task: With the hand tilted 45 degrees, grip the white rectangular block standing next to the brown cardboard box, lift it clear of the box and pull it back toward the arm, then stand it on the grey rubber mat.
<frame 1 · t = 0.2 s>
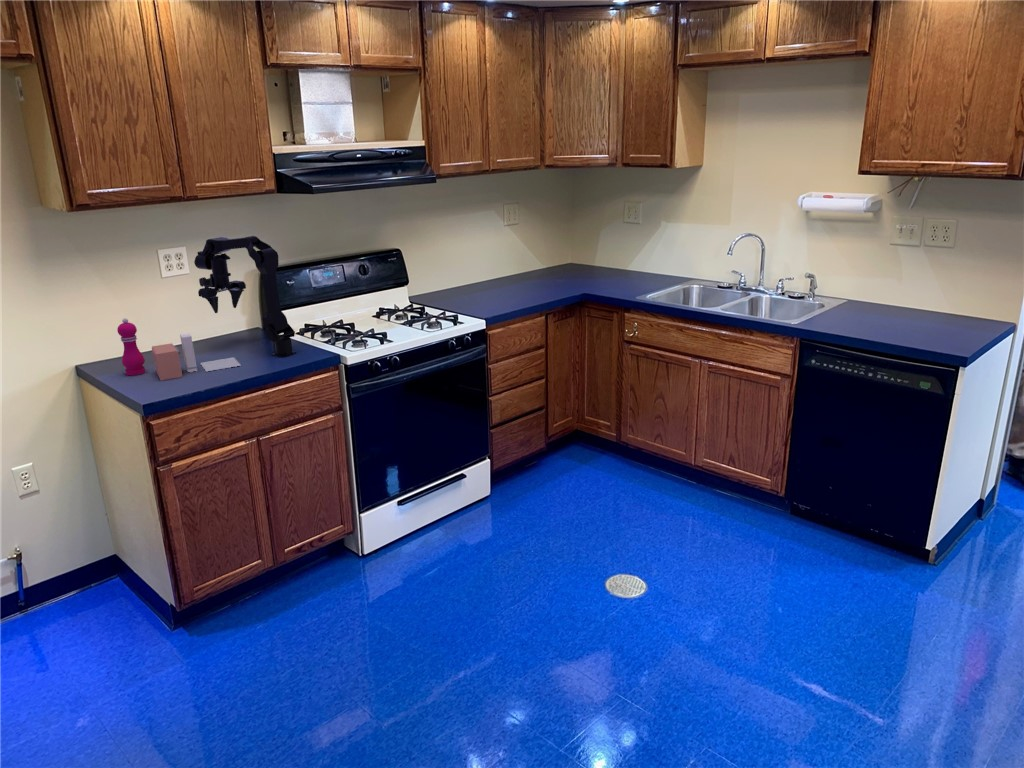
hand: (225, 310, 287), 15 cm above the countertop, tool pointing down, fingers open, 9 cm apart
mat: (220, 365, 268), on the countertop
pepper mill: (135, 373, 261), on the countertop
white rectangular block: (191, 370, 263), on the countertop
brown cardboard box: (169, 374, 259), on the countertop
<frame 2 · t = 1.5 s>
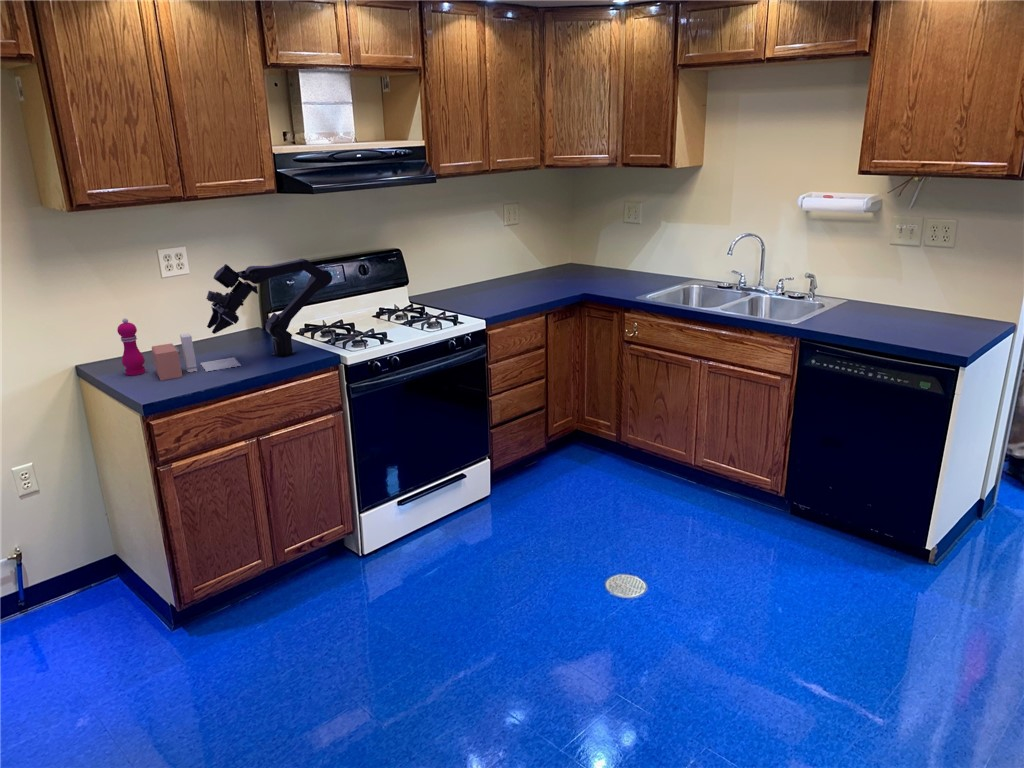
hand: (210, 330, 262), 13 cm above the countertop, tool tilted 45°, fingers open, 9 cm apart
nothing on the countertop moved.
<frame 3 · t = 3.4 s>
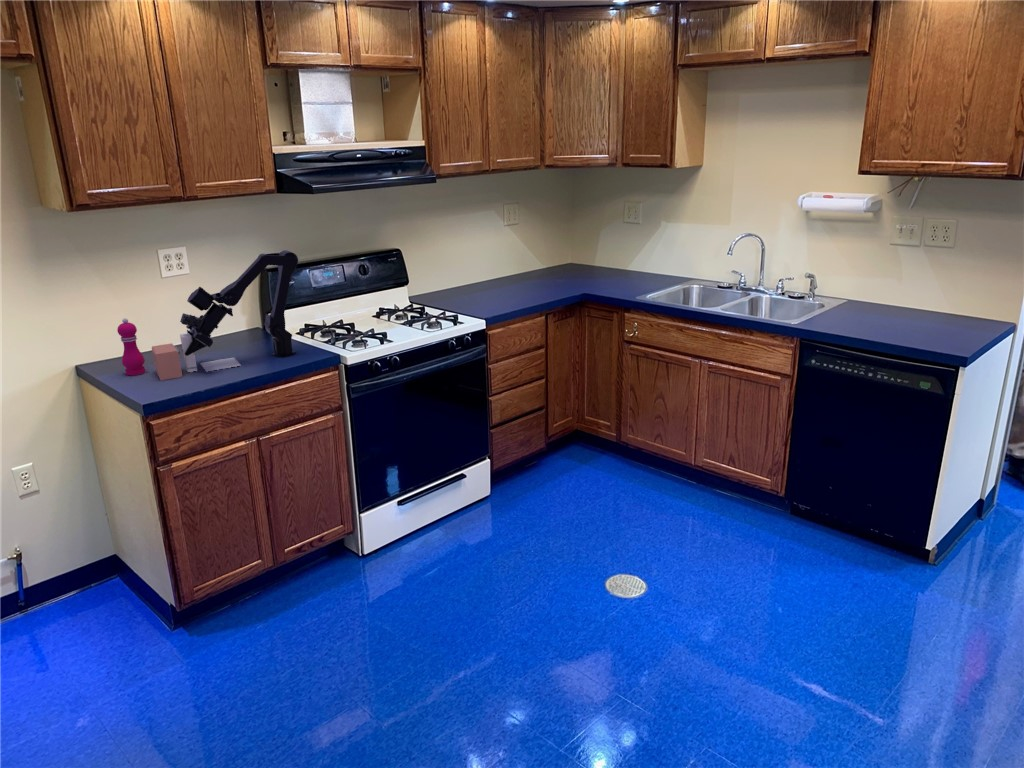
hand: (184, 353, 260), 7 cm above the countertop, tool tilted 45°, fingers closed on white rectangular block, 5 cm apart
white rectangular block: (191, 370, 263), on the countertop, touching gripper
everything else where it was.
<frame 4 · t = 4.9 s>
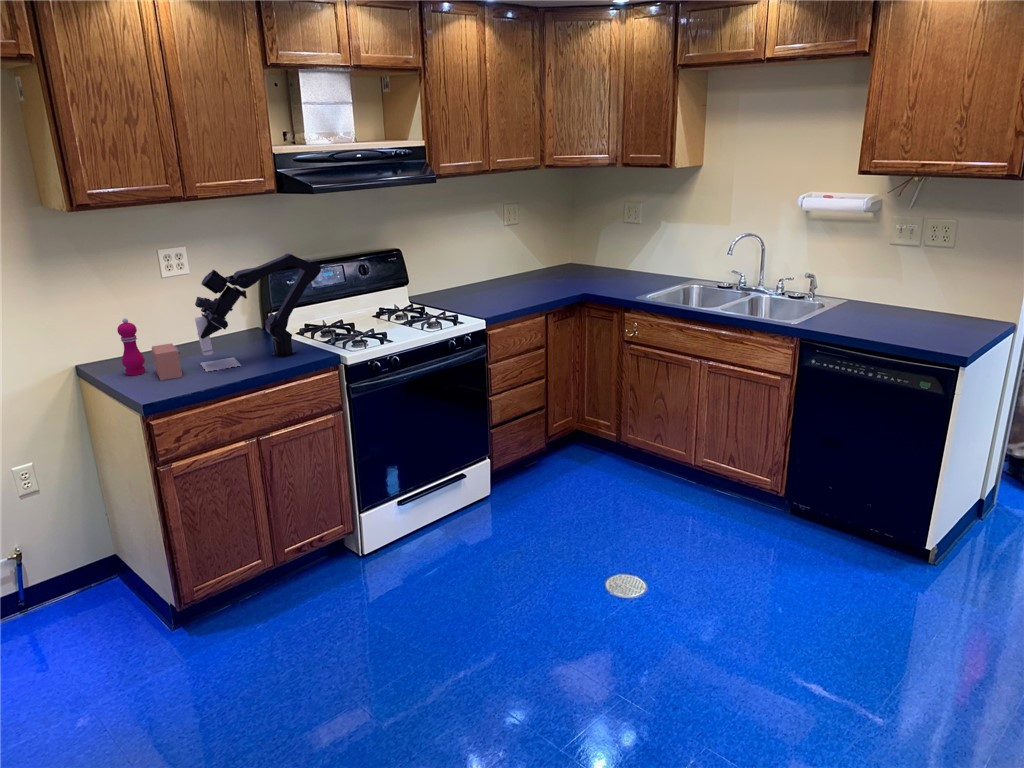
hand: (200, 336, 261), 12 cm above the countertop, tool tilted 45°, fingers closed on white rectangular block, 5 cm apart
white rectangular block: (207, 353, 264), point 5 cm above the countertop, touching gripper
everything else where it was.
when the fingers open (8 cm above the countertop, at t = 6.3 s): white rectangular block drops 1 cm, resting on mat.
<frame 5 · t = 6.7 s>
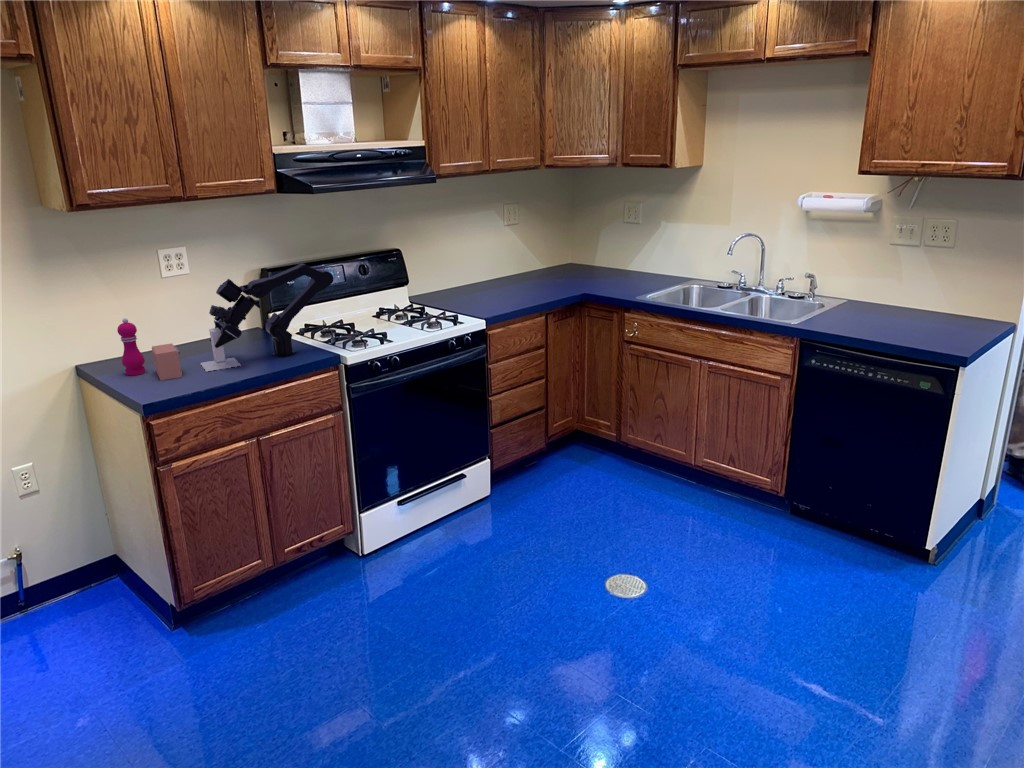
hand: (213, 344, 264), 8 cm above the countertop, tool tilted 45°, fingers open, 9 cm apart
white rectangular block: (220, 364, 267), resting on mat
everything else where it was.
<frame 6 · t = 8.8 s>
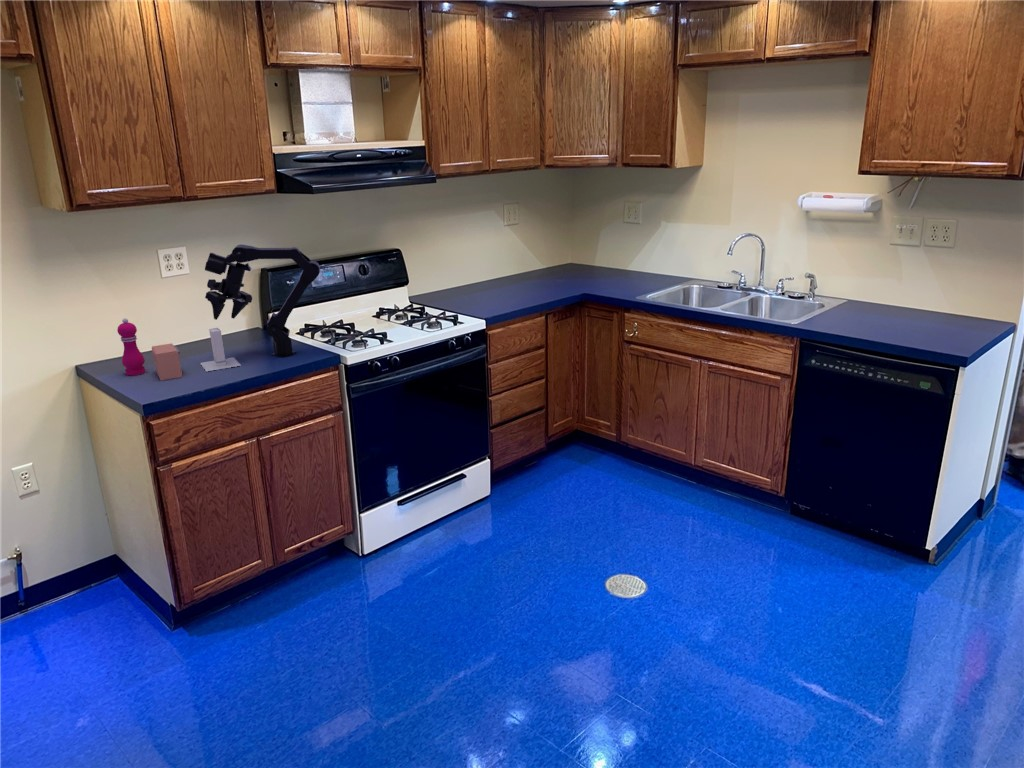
hand: (224, 318, 270), 15 cm above the countertop, tool tilted 20°, fingers open, 9 cm apart
nothing on the countertop moved.
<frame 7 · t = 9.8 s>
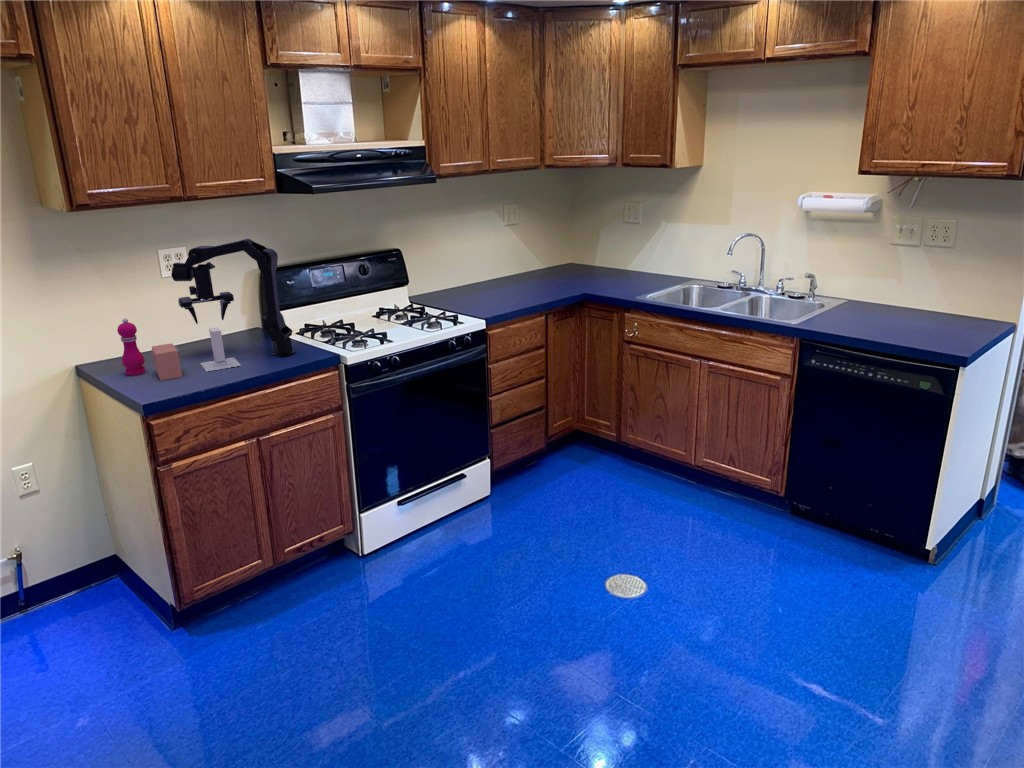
hand: (209, 321, 276), 13 cm above the countertop, tool pointing down, fingers open, 9 cm apart
nothing on the countertop moved.
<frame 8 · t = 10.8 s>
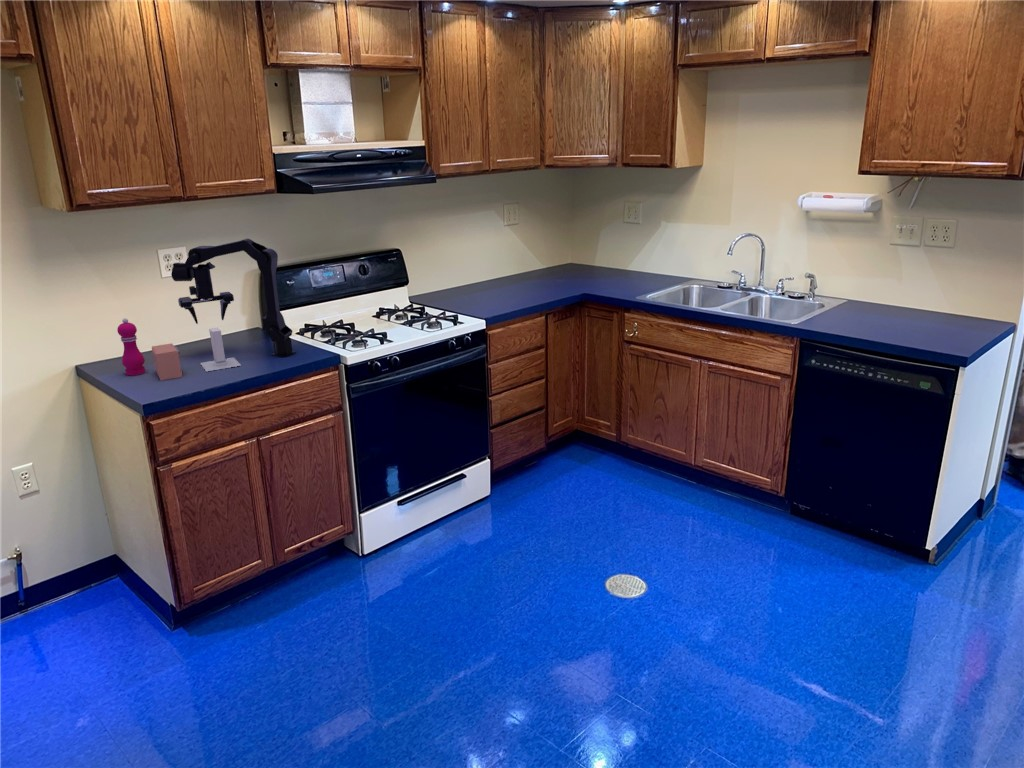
hand: (209, 321, 276), 13 cm above the countertop, tool pointing down, fingers open, 9 cm apart
nothing on the countertop moved.
at the end: white rectangular block inside the target area on the mat (0.0 cm from its centre), point 0.4 cm above the mat's base; white rectangular block moved 9.9 cm from its start; white rectangular block touching mat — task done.
